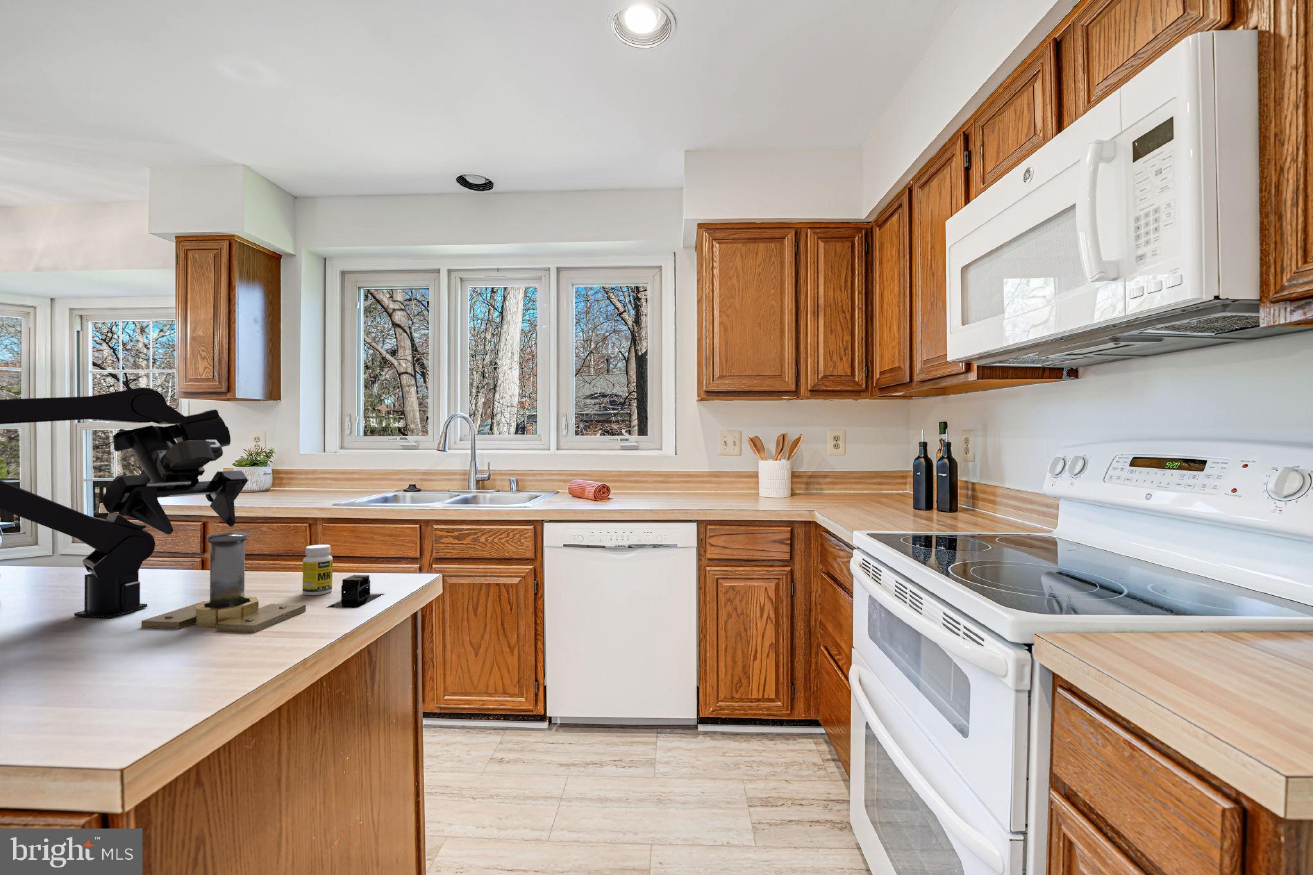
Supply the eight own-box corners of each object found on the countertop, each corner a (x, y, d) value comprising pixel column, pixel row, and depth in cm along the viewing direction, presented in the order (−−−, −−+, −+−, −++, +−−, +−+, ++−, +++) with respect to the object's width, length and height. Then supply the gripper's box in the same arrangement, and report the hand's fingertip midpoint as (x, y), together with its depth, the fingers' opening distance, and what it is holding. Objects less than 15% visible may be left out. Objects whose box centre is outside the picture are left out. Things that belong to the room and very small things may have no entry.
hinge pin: (197, 623, 93) (198, 537, 93) (225, 613, 98) (225, 531, 98) (229, 624, 92) (229, 537, 92) (255, 614, 98) (256, 532, 98)
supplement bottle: (319, 596, 109) (319, 549, 109) (296, 595, 110) (296, 547, 110) (338, 590, 114) (338, 544, 114) (316, 588, 115) (316, 543, 115)
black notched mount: (356, 614, 100) (356, 586, 100) (313, 613, 101) (313, 585, 101) (392, 594, 113) (392, 569, 113) (353, 594, 113) (353, 569, 113)
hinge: (141, 627, 91) (141, 610, 91) (204, 607, 102) (204, 592, 102) (254, 632, 89) (254, 614, 89) (305, 611, 100) (305, 595, 100)
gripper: (113, 421, 91) (158, 499, 87) (241, 424, 108) (284, 489, 104) (83, 473, 94) (125, 551, 90) (212, 468, 111) (252, 533, 107)
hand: (203, 528), depth 98 cm, fingers open, 9 cm apart
